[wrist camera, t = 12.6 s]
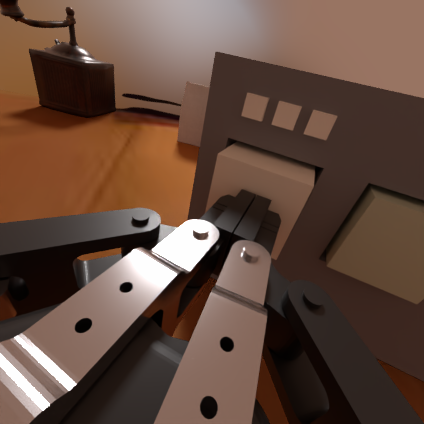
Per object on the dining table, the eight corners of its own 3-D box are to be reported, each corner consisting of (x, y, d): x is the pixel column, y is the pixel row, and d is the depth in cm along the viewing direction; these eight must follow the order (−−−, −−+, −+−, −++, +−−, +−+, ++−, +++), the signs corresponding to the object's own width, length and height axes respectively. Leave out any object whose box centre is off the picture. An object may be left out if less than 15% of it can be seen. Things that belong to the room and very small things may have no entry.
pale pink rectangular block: (211, 149, 42) (222, 91, 37) (177, 141, 42) (183, 81, 37) (214, 144, 45) (225, 90, 40) (183, 136, 46) (189, 81, 40)
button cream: (201, 227, 13) (217, 153, 10) (228, 196, 16) (244, 136, 14) (276, 260, 12) (313, 186, 9) (286, 219, 15) (315, 158, 13)
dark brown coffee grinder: (73, 99, 52) (58, -3, 42) (117, 111, 52) (113, 9, 42) (11, 108, 39) (-31, -37, 29) (69, 123, 39) (46, -19, 29)
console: (178, 264, 18) (213, 50, 10) (217, 215, 24) (256, 65, 17) (515, 431, 12) (1137, 258, 5) (448, 311, 19) (660, 158, 11)
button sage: (326, 266, 12) (375, 197, 10) (325, 224, 16) (360, 167, 13) (417, 304, 11) (497, 238, 9) (393, 250, 15) (445, 193, 12)
